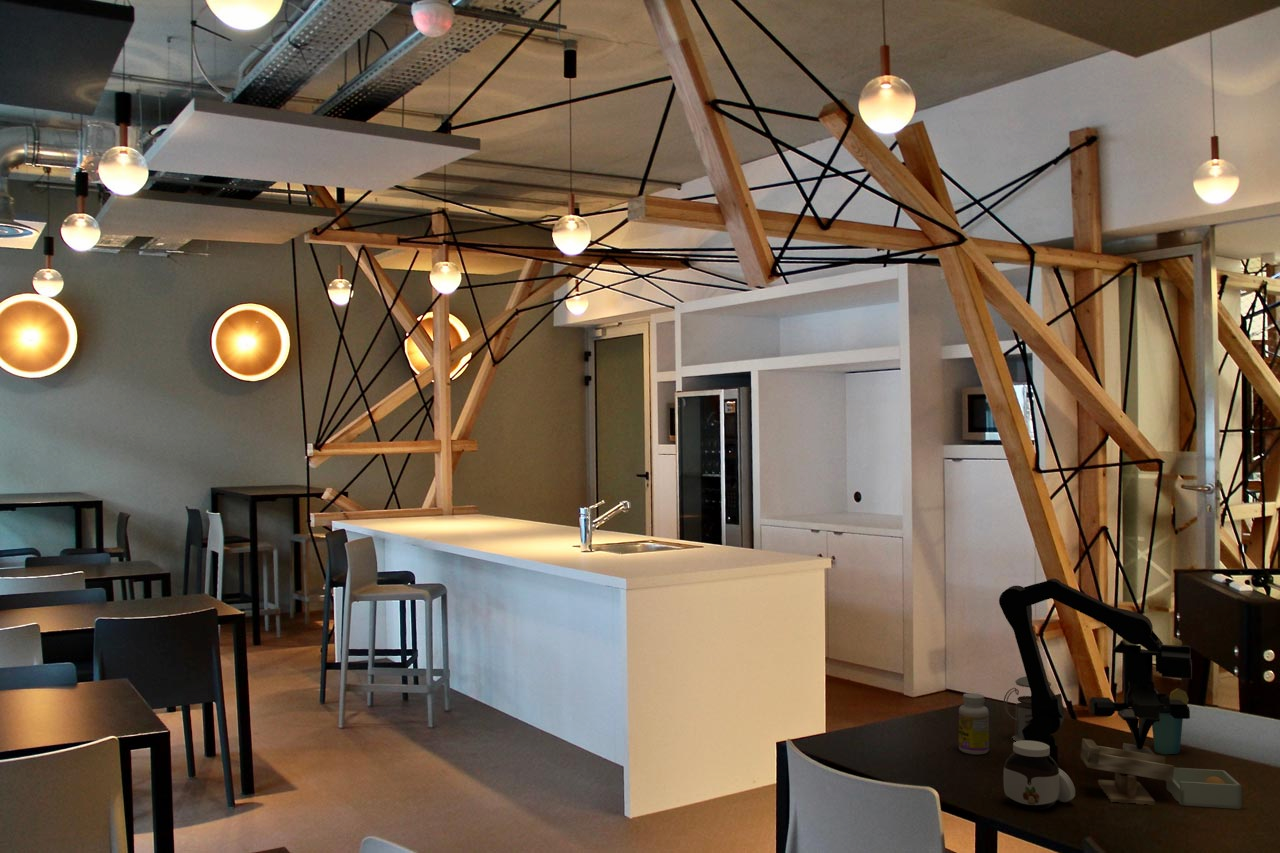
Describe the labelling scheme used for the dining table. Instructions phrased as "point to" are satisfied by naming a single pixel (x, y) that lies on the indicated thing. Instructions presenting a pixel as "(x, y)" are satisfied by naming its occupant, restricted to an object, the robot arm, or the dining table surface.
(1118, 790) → the stand
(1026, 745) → the spread jar
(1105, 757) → the lever
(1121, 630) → the robot arm
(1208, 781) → the ball
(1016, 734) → the french press
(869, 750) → the dining table surface
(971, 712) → the supplement bottle
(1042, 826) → the dining table surface
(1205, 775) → the tray
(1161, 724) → the cup
